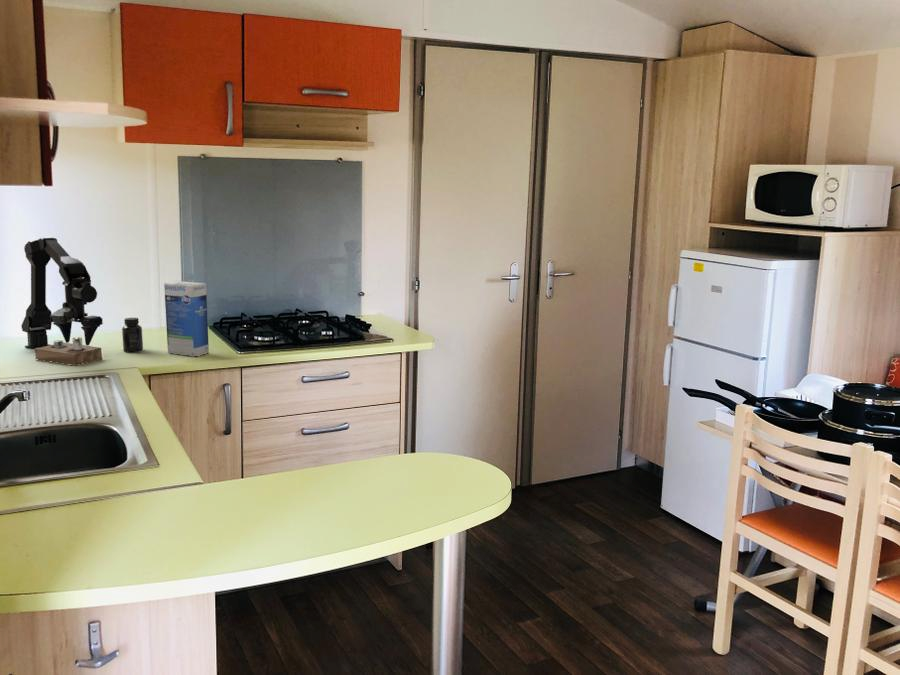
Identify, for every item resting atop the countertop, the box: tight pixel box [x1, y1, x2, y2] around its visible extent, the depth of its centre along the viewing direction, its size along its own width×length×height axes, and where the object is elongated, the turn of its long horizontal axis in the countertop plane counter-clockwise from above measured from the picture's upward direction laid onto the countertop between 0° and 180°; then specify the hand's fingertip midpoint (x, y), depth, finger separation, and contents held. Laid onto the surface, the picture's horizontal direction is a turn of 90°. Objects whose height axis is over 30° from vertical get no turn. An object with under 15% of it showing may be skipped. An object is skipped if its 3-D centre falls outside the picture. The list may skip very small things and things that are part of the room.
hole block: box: [34, 341, 103, 366], centre depth 299 cm, size 12×18×4 cm, turn 66°
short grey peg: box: [53, 339, 64, 349], centre depth 301 cm, size 3×3×6 cm
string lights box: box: [163, 280, 210, 357], centre depth 310 cm, size 13×8×26 cm, turn 68°
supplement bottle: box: [121, 317, 144, 353], centre depth 314 cm, size 7×7×12 cm
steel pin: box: [72, 336, 83, 351], centre depth 297 cm, size 3×3×8 cm
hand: (77, 343), depth 297 cm, fingers open, 9 cm apart
